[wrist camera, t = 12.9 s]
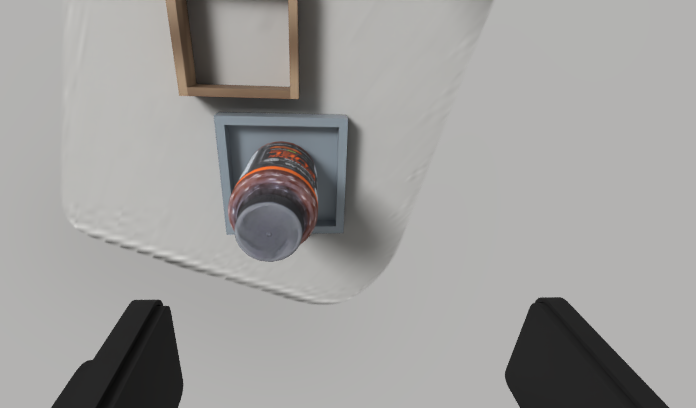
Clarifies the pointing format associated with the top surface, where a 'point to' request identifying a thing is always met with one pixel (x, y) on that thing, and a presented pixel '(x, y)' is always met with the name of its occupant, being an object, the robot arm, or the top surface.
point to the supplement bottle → (275, 202)
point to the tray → (301, 129)
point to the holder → (191, 88)
